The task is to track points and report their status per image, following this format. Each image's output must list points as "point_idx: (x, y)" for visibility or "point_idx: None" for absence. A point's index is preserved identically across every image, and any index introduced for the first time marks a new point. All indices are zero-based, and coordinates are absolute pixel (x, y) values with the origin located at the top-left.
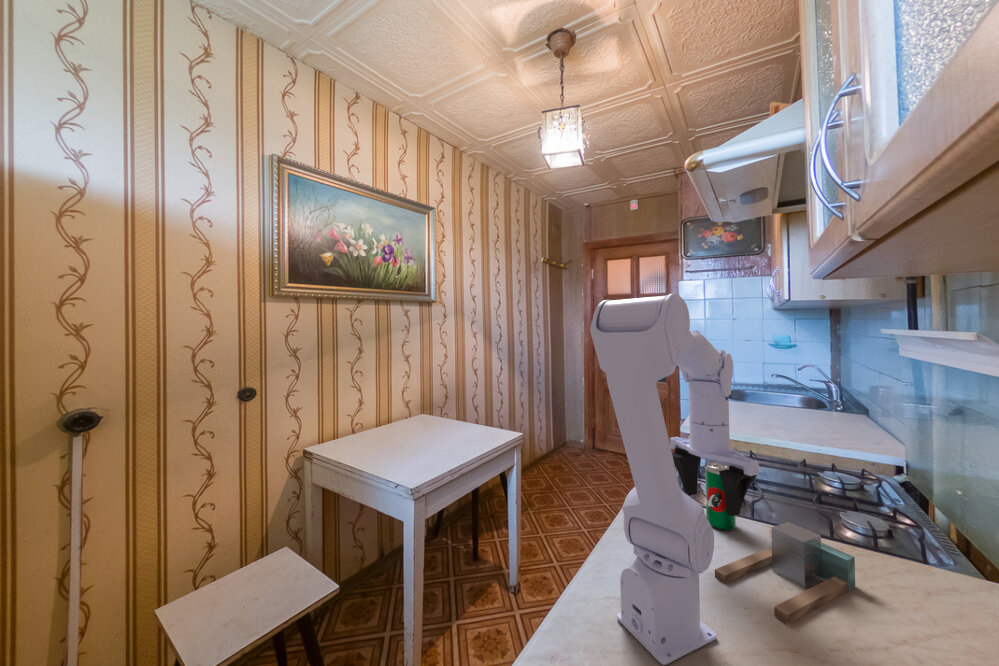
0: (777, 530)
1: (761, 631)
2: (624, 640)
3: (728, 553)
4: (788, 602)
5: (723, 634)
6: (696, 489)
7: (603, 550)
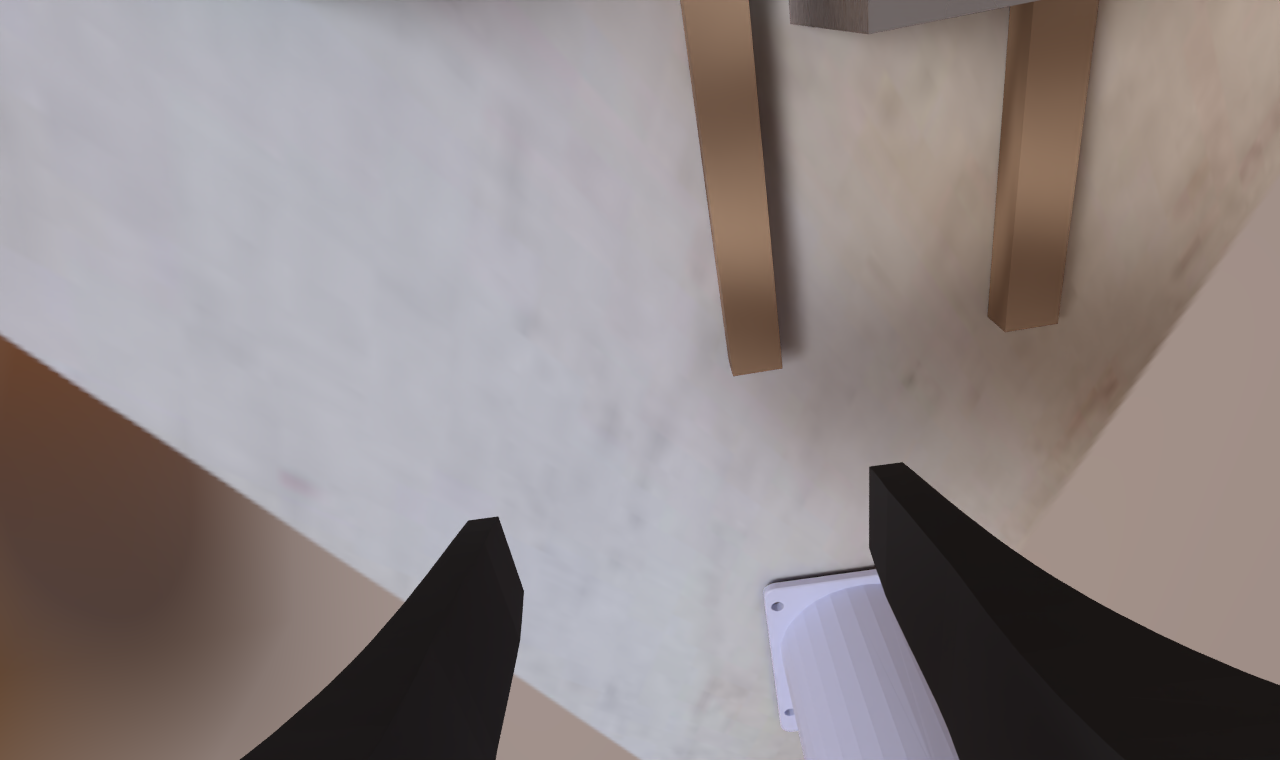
0: (920, 23)
1: (1004, 419)
2: None
3: (586, 137)
4: (1025, 252)
5: None
6: (492, 548)
7: None
